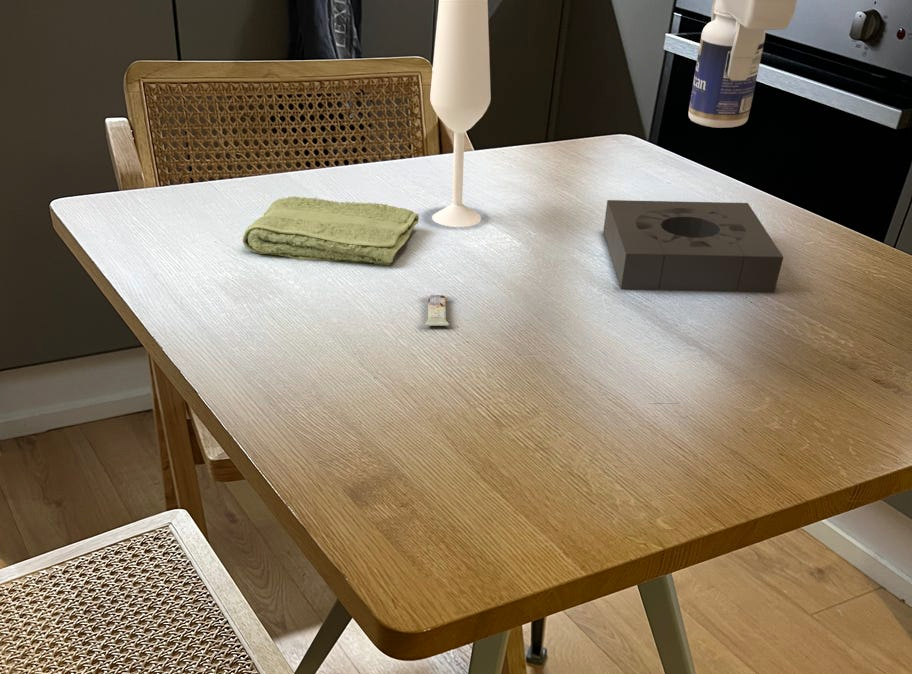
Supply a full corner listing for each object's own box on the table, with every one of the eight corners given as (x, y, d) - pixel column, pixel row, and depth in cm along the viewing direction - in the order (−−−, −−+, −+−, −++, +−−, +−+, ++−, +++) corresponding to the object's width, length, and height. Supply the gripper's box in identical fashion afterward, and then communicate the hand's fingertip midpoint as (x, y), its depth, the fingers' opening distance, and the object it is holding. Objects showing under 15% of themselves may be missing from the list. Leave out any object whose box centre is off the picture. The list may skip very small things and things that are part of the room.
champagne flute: (477, 233, 112) (488, -13, 96) (422, 227, 114) (423, -17, 97) (490, 213, 117) (502, -24, 101) (436, 208, 118) (440, -28, 102)
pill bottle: (678, 113, 90) (698, -12, 83) (732, 111, 91) (756, -13, 84) (701, 130, 86) (724, 0, 79) (757, 127, 87) (784, -2, 80)
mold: (739, 238, 112) (747, 202, 110) (773, 295, 101) (783, 256, 98) (602, 235, 112) (607, 199, 110) (620, 292, 101) (626, 253, 98)
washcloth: (396, 272, 104) (396, 241, 101) (239, 257, 106) (236, 227, 104) (421, 229, 113) (421, 200, 111) (276, 216, 115) (274, 188, 113)
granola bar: (449, 331, 93) (449, 320, 92) (424, 330, 93) (425, 320, 92) (448, 301, 98) (448, 291, 97) (425, 301, 98) (425, 291, 97)
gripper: (845, -117, 69) (794, 100, 78) (771, -141, 84) (736, 44, 93) (757, -118, 69) (716, 99, 78) (699, -141, 84) (671, 43, 93)
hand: (727, 68), depth 86 cm, fingers closed on pill bottle, 5 cm apart
